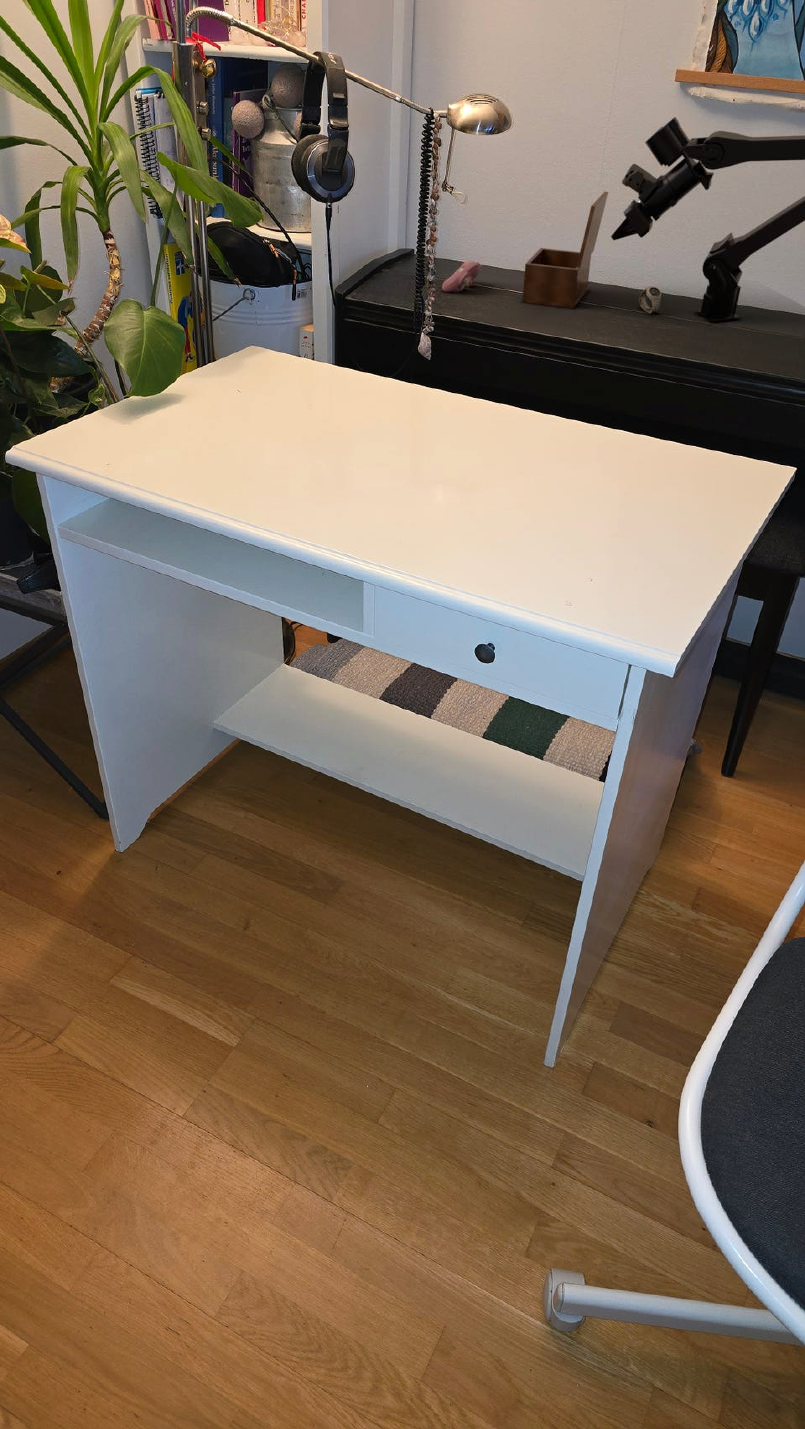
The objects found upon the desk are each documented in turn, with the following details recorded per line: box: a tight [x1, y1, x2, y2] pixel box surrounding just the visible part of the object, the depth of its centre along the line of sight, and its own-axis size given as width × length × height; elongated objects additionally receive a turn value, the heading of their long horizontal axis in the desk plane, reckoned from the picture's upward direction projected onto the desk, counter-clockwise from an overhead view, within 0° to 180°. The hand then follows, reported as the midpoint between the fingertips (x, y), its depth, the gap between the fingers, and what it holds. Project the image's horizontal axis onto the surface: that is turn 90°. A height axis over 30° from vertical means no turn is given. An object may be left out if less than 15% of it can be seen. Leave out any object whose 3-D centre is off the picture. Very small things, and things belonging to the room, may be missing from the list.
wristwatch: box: [638, 285, 662, 314], centre depth 212 cm, size 4×6×5 cm, turn 20°
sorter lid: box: [577, 191, 609, 268], centre depth 209 cm, size 12×13×1 cm
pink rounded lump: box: [441, 259, 483, 293], centre depth 223 cm, size 10×5×7 cm, turn 148°
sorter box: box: [522, 247, 592, 309], centre depth 218 cm, size 12×13×8 cm
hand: (612, 238), depth 209 cm, fingers closed
